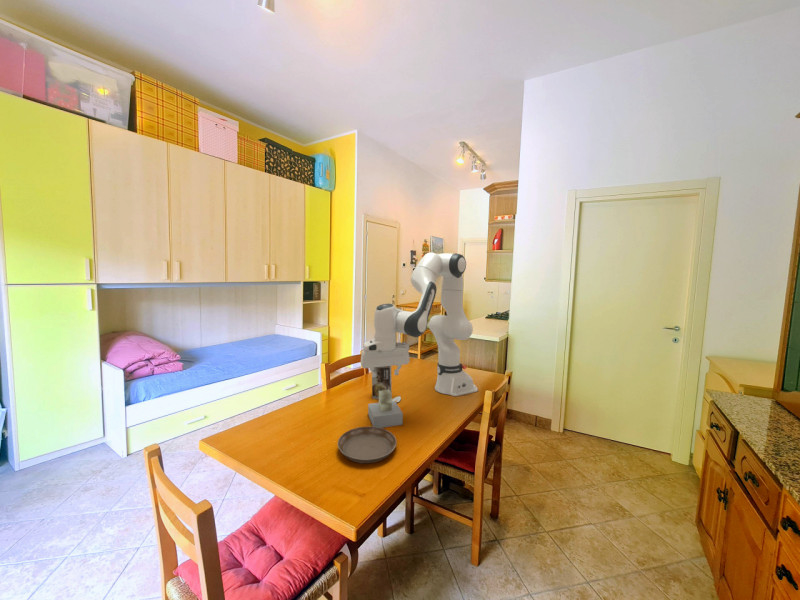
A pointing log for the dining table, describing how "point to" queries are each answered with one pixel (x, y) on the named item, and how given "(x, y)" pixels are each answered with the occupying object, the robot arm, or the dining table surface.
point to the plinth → (385, 415)
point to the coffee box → (381, 380)
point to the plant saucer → (367, 444)
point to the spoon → (397, 399)
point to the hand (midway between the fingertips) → (385, 375)
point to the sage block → (385, 400)
